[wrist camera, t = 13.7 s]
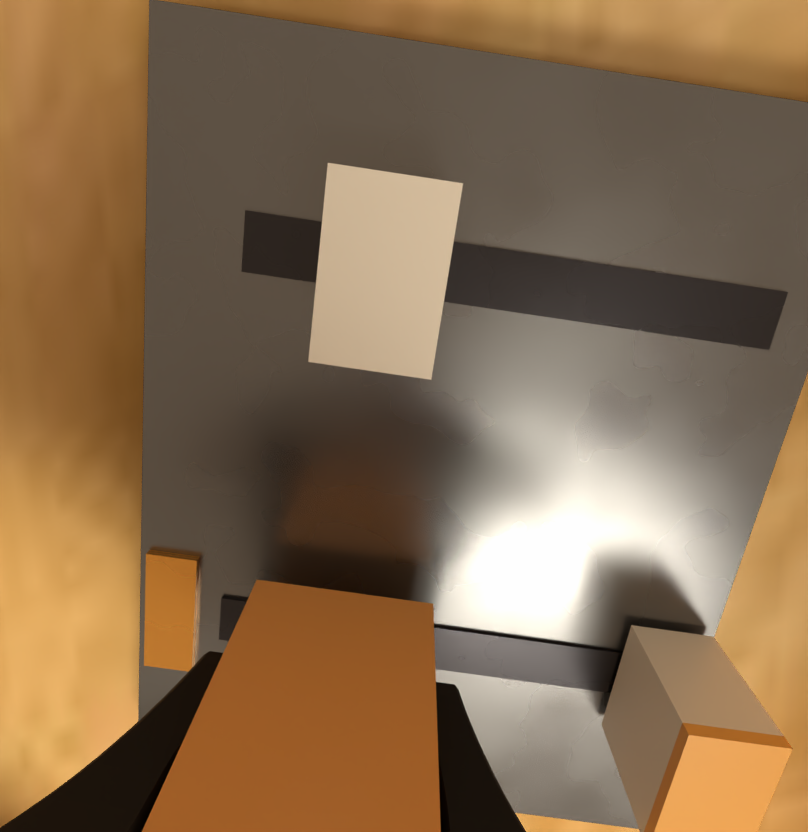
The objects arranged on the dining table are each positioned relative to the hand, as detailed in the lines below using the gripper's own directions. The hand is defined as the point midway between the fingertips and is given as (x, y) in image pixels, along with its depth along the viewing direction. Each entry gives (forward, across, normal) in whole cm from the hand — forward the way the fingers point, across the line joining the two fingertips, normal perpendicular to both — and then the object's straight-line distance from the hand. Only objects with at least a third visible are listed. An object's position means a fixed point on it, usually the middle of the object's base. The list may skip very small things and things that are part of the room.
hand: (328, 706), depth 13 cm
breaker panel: (+4, -2, -4) cm, 6 cm away
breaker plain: (+2, 0, -9) cm, 9 cm away
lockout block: (+2, 0, 0) cm, 2 cm away
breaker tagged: (+2, -8, 0) cm, 8 cm away
